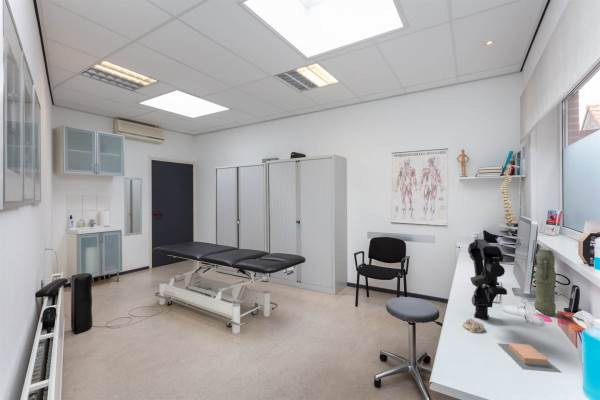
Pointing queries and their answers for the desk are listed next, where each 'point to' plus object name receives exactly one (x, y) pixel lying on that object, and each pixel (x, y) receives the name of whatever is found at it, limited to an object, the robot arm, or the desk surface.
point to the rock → (473, 326)
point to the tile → (528, 354)
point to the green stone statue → (545, 283)
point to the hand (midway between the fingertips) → (490, 302)
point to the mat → (525, 366)
